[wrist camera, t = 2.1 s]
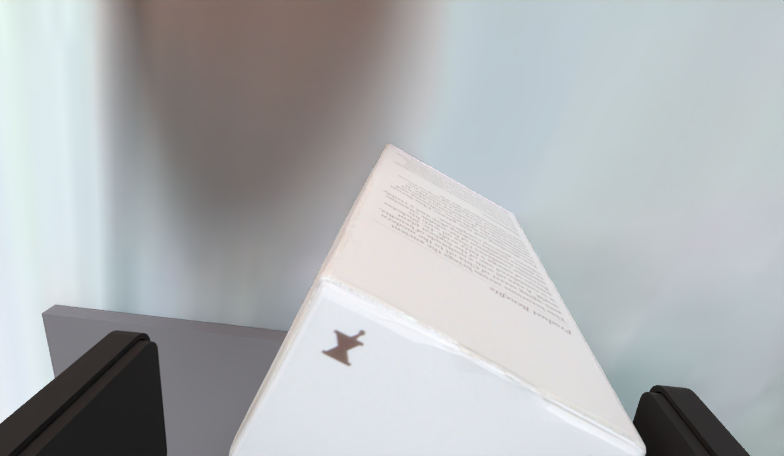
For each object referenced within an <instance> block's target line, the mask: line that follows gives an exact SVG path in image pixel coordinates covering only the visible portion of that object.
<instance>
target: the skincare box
mask: <svg viewBox="0 0 784 456" xmlns="http://www.w3.org/2000/svg"><path fill="white" fill-rule="evenodd" d="M645 454H646V446H645V444H644V442H643V441H642V439H641V437H640V435H639V433H638V432H637V430H636V428H635V426H634V425H633V423H632V421H631V419H630V418H629V416H628V414H627V413H626V411H625V409H624V408H623V406H622V404H621V402H620V400H619V399H618V397H617V395H616V393H615V391H614V390H613V388H612V386H611V385H610V383H609V381H608V379H607V377H606V375H605V374H604V372H603V370H602V368H601V367H600V365H599V363H598V361H597V360H596V358H595V356H594V354H593V353H592V351H591V349H590V347H589V345H588V344H587V342H586V340H585V339H584V337H583V335H582V333H581V331H580V330H579V328H578V326H577V325H576V323H575V321H574V320H573V318H572V316H571V314H570V312H569V310H568V309H567V307H566V305H565V303H564V301H563V300H562V298H561V296H560V294H559V293H558V291H557V289H556V287H555V285H554V284H553V282H552V280H551V279H550V277H549V275H548V273H547V272H546V270H545V268H544V266H543V265H542V263H541V261H540V259H539V258H538V256H537V254H536V252H535V251H534V249H533V247H532V245H531V244H530V242H529V240H528V238H527V236H526V235H525V233H524V231H523V229H522V227H521V226H520V224H519V222H518V220H517V219H516V217H515V216H514V214H513V213H511V212H509V211H507V210H506V209H504V208H502V207H500V206H499V205H497V204H495V203H493V202H492V201H490V200H488V199H486V198H485V197H483V196H481V195H479V194H478V193H476V192H474V191H472V190H471V189H469V188H467V187H465V186H464V185H462V184H460V183H458V182H457V181H455V180H453V179H451V178H450V177H448V176H446V175H444V174H443V173H441V172H439V171H437V170H436V169H434V168H432V167H430V166H428V165H427V164H425V163H423V162H421V161H420V160H418V159H416V158H414V157H413V156H411V155H409V154H407V153H405V152H404V151H402V150H400V149H398V148H397V147H395V146H393V145H391V144H387V145H386V147H385V148H384V150H383V152H382V154H381V155H380V157H379V159H378V161H377V162H376V164H375V166H374V167H373V169H372V171H371V173H370V175H369V176H368V178H367V180H366V182H365V184H364V185H363V187H362V189H361V191H360V193H359V194H358V196H357V198H356V200H355V202H354V204H353V206H352V208H351V210H350V211H349V213H348V215H347V217H346V219H345V221H344V223H343V225H342V227H341V229H340V231H339V233H338V235H337V236H336V238H335V240H334V242H333V244H332V246H331V248H330V250H329V252H328V254H327V256H326V258H325V260H324V262H323V264H322V266H321V268H320V270H319V272H318V274H317V276H316V278H315V280H314V282H313V284H312V286H311V288H310V290H309V292H308V294H307V296H306V298H305V300H304V302H303V304H302V306H301V308H300V310H299V312H298V314H297V316H296V318H295V319H294V321H293V323H292V325H291V327H290V329H289V331H288V333H287V335H286V337H285V339H284V341H283V343H282V345H281V347H280V349H279V351H278V353H277V355H276V357H275V359H274V361H273V363H272V365H271V367H270V369H269V371H268V373H267V375H266V377H265V378H264V380H263V382H262V384H261V386H260V388H259V390H258V392H257V394H256V396H255V398H254V400H253V402H252V404H251V406H250V408H249V410H248V412H247V414H246V416H245V418H244V420H243V422H242V424H241V426H240V428H239V430H238V432H237V434H236V436H235V438H234V440H233V443H232V445H231V447H230V452H229V456H645Z"/></svg>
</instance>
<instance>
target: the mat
mask: <svg viewBox="0 0 784 456" xmlns="http://www.w3.org/2000/svg"><path fill="white" fill-rule="evenodd" d="M42 317H43V322H44V327H45V332H46V337H47V342H48V346H49V351H50V356H51V361H52V366H53V371H54V376H55V378H56V377H57V376H58V375H60V374H61V373H62V372H63V371H64V370H66V369H67V368H68V367H69V366H70V365H72V364H73V363H74V362H75V361H76V360H78V359H79V358H80V357H81V356H82V355H84V354H85V353H86V352H87V351H88V350H90V349H91V348H92V347H93V346H94V345H96V344H97V343H98V342H99V341H100V340H102V339H103V338H104V337H105V336H106V335H108V334H109V333H110V332H112V331H115V330H121V331H130V332H140V333H146V334H148V336H149V338H150V341H152V342H155V343H156V344H157V347H158V355H159V366H160V377H161V387H162V398H163V409H164V420H165V431H166V442H167V456H229V452H230V447H231V445H232V443H233V440H234V438H235V436H236V434H237V432H238V430H239V428H240V426H241V424H242V422H243V420H244V418H245V416H246V414H247V412H248V410H249V408H250V406H251V404H252V402H253V400H254V398H255V396H256V394H257V392H258V390H259V388H260V386H261V384H262V382H263V380H264V378H265V377H266V375H267V373H268V371H269V369H270V367H271V365H272V363H273V361H274V359H275V357H276V355H277V353H278V351H279V349H280V347H281V345H282V343H283V341H284V339H285V337H286V335H287V333H288V332H285V331H277V330H268V329H259V328H251V327H242V326H234V325H225V324H216V323H208V322H199V321H190V320H182V319H173V318H165V317H156V316H147V315H139V314H130V313H121V312H113V311H104V310H96V309H87V308H78V307H70V306H61V305H54V306H53V307H51V308H50V309H48V310H46V311H45V312H43V313H42Z"/></svg>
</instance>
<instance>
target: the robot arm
mask: <svg viewBox="0 0 784 456" xmlns="http://www.w3.org/2000/svg"><path fill="white" fill-rule="evenodd" d="M633 425H634V426H635V428H636V430H637V432H638V433H639V435H640V437H641V439H642V441H643V442H644V444H645V446H646V454H645V456H750V455H749V454H748V453H747V452H746V451H745V449H744V448H743V447H742V446H741V445H740V444H739V443H738V442H737V440H736V439H735V438H734V437H733V436H732V435H731V434H730V432H729V431H728V430H727V429H726V428H725V427H724V426H723V425H722V423H721V422H720V421H719V420H718V419H717V418H716V417H715V415H714V414H713V413H712V412H711V411H710V410H709V409H708V408H707V406H706V405H705V404H704V403H703V402H702V401H701V400H700V398H699V397H698V396H697V395H696V394H695V393H694V392H693V391H692V390H690V389H687V388H680V387H670V386H661V385H656V386H653V387H652V388H651V389H650V392H645V393H643V394H642V396H641V398H640V401H639V404H638V407H637V411H636V414H635V417H634V420H633ZM0 456H167V442H166V431H165V420H164V409H163V398H162V387H161V377H160V366H159V355H158V347H157V344H156V343H155V342H152V341H150V338H149V336H148V334H146V333H140V332H130V331H121V330H115V331H112V332H110V333H109V334H108V335H106V336H105V337H104V338H103V339H102V340H100V341H99V342H98V343H97V344H96V345H94V346H93V347H92V348H91V349H90V350H88V351H87V352H86V353H85V354H84V355H82V356H81V357H80V358H79V359H78V360H76V361H75V362H74V363H73V364H72V365H70V366H69V367H68V368H67V369H66V370H64V371H63V372H62V373H61V374H60V375H58V376H57V377H56V378H55V379H54V380H52V381H51V382H50V383H49V384H48V385H46V386H45V387H44V388H43V389H42V390H40V391H39V392H38V393H37V394H36V395H34V396H33V397H32V398H31V399H30V400H28V401H27V402H26V403H25V404H24V405H22V406H21V407H20V408H19V409H18V410H16V411H15V412H14V413H13V414H11V415H10V416H9V417H8V418H7V419H5V420H4V421H3V422H2V423H1V424H0Z"/></svg>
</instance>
